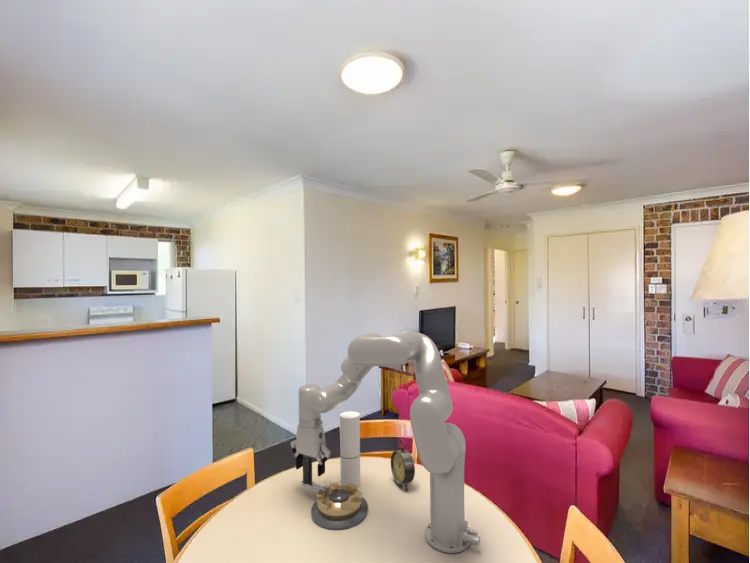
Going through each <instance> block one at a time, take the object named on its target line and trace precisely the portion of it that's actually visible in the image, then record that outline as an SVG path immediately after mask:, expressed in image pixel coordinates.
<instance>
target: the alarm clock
mask: <svg viewBox="0 0 750 563" xmlns="http://www.w3.org/2000/svg"><path fill="white" fill-rule="evenodd" d="M402 441H403V443H404V446H402ZM399 443H400V447H401V449H399V450H394V451H393V452H392V453H391V456H390V469H391V474H392V476H393V479H394V481H395V482H396V484H398V485H400V486H403V485H404V486H405V487H404V488H405V491H406V492H408V491H409V489H408V484H410V483H412V482H413V481H414V478H415V474H416V468H415V461H414V459H413V456H412V455H411V453H410V452H409V451H408V450H406V449H405V448H406V446H407V445H406V442H405V440H404V439H403V438H401V439H400V440H399Z"/></svg>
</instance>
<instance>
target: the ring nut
mask: <svg viewBox="0 0 750 563" xmlns="http://www.w3.org/2000/svg"><path fill="white" fill-rule="evenodd" d="M300 482H301V483H300V484H301V486H303V487H306V488H308V489H310V490H311V491H314V492H316V493H317V494H316V500H317V508H318V512H319V514H320V515H321V516H322V517H324V518H326V519H330V520H344V519H348V518H351V517H353V516H355V515H356V514H357V513H358V512H359V511H360V510H361V507H362V497H363V493H362V492H361V491H360V490H359V489H358V487H357V485H355V484H353V483H350V484H348V485H347V486H345V485H341V484H339V483H338V481H335V482H331V483H329V485H324V486H323V485H321V484H319V483H315V482H314V481H313V457H310V456H307V455H305V456H303V466H302V480H301V481H300Z"/></svg>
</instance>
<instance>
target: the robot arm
mask: <svg viewBox="0 0 750 563" xmlns="http://www.w3.org/2000/svg"><path fill="white" fill-rule="evenodd" d="M411 361H413V363H414V377H415V381H416V383H417V384H416V385H417V388H418V396H417V397H415V399H414V400H413V401H412V403H411V405H410V409H409V420H410V425H411V429H412V430H411V431H412V433H413V439H414V443H415V448H416V452H417V456H418V458H419V461H420V463H421V465H422V466H423V468H424V469H425V470H426V471H427V472H428V473H429V479H430V480H429V493H430V494H429V495H430V496H429V498H430V499H429V502H430V504H429V505H430V506H429V507H430V508H429V510H430V513H429V514H430V523H428V525H427V526H426V528H425V531H424V532H425V533H424V534H425V535H424V536H425V539H426V542H427V543H428V544H429V545H430V546H431V547H432V548H433V549H435V550H437V551H440V552H443V553H446V554H447V553H448V554H456V553H457V554H458V553H460V552H464V551H465V550H467V549H468V548H469V546H470V544H473V545H477V546H480V542H481V537H480V536H478V535H479V534H478V533H479V532H478V531H477V530H474V529H470V527H469V526H468V525H469V524H468V523H469V522H468V521H467V520H465V461H466V460H465V458H466V438H465V436H464V433H463V431H462V430H461V429H460V428H459V427H458V426H457V425H456V424H453V423H452V422H451V423H450V422H446V421H447V420H448V419H449V418H450V416H451V414H452V413H453V409H454V408H453V401H452V400H453V399H452V396H451V392H450V389H449V385H448V381H447V378H446V374H445V371H444V367H443V362H442V358H441V354H440V352H439V349H438V347H437V345H436V343H434V341H433V340H432V339H431V338H430V337H429V336H427V335H425V334H423V333H421V332H417V331H405V332H402V333H399V334H396V335H393V336H382V335H381V334H379V333H373V332H371V333H367V334H362V335H360V336H356V337H354V338H353V339H352V340H351V341H350V343H349V344H348V347H347V356H346V357H345V359H344V360H343V361H342V362H341V363H340V369H341V372H342V374H341V376H340V377H339V378H338V379H337V380H336V381H335V382H334V383H333V384H330V385H328V386H326V387H323V388H321V387H320V385H317V384H314V383H313V384H312V383H311V384H310V383H309V384H308V383H307V384H304V385H302V386H300V387H299V389H298V424H297V429H296V433H295V434H296V436H295V440H292V441H290V443H289V444H290V446H291V450H292V453H293V457H294V458H295V469H296V470H299V469H301V468H303V458H304V456H310V457H312V458H314V459H316V461H317V463H318V464H317V477H321V476H322V475H323V474H325V472H326V462H327V461H328V460H329V458H330V456H331V454H332V451H331V450H330V449H329V448H328V447H327V446H326V435H325V430H324V427H323V426H324V425H323V420H322V418H321V416H322V415H321V414H325V413H328V412H330V411H332V410H334V409H335V408H337V407H339V406H342V405H343V404H344V403H346V402H347V400H349V399H350V398H351V396H352V395H353V394H354V393H356V391H357V389H358V388H359V386H360V385H361V383H362V380H363V379H364V378H365V376H366V375H368V373H369V372H371V370H372V369H373V368H374V367H381V368H382V367H383V368H385V367H388V368H392V367H395V368H396V367H400V366H403V365H405V364H408V363H409V362H411Z"/></svg>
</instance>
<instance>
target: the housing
mask: <svg viewBox="0 0 750 563" xmlns="http://www.w3.org/2000/svg"><path fill="white" fill-rule="evenodd" d="M310 508H311V510H310V516H311V519H312V521H313V523H315V525H317V526H318V527H320V528H322V529H325V530H330V531H342V530H349V529H351V528H354V527H356V526H358V525H360V524H361V523H362V522H363V521H365V519H366V518H367V516H368V514H367V513H368V512H369V504H368V502H367V500H366V499H365V497H363V496H362V507H361V510H360V511H359V512H358V513H357V514H356V515H355V516H353V517H351V518H348V519H344V520H330V519H326V518H324V517H322V516H321V515H320V514H319V512H318V508H317V499H316V500H315V501H314V502H313V504H312V506H311V507H310Z"/></svg>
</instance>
